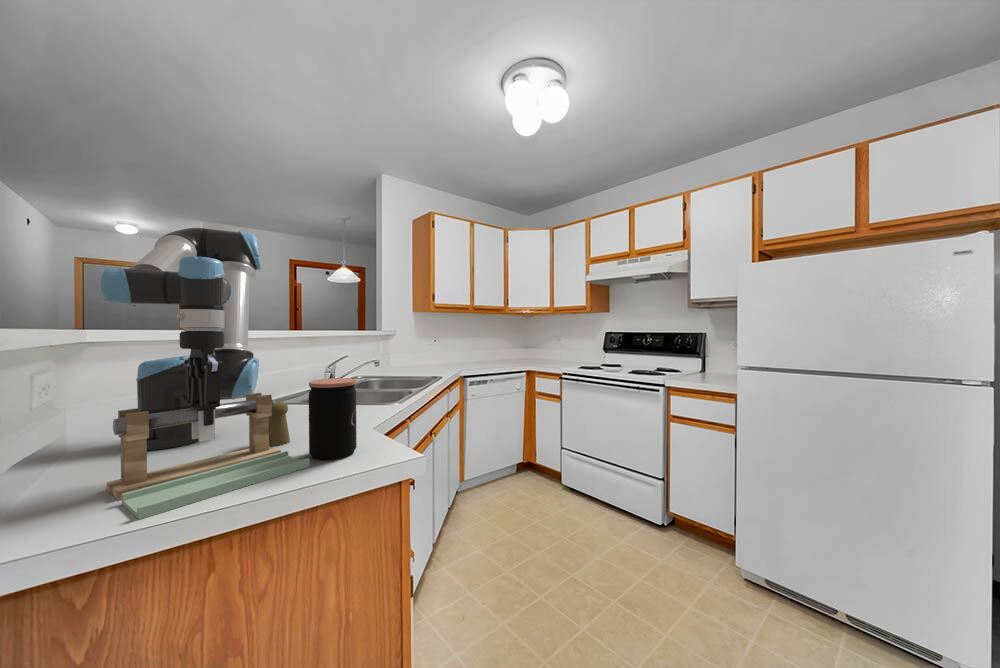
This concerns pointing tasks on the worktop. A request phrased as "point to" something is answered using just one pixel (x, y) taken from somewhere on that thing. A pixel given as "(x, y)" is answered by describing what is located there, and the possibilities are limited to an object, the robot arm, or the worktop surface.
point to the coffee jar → (332, 418)
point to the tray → (208, 484)
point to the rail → (188, 415)
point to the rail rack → (136, 463)
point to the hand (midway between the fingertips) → (203, 438)
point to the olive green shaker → (278, 425)
